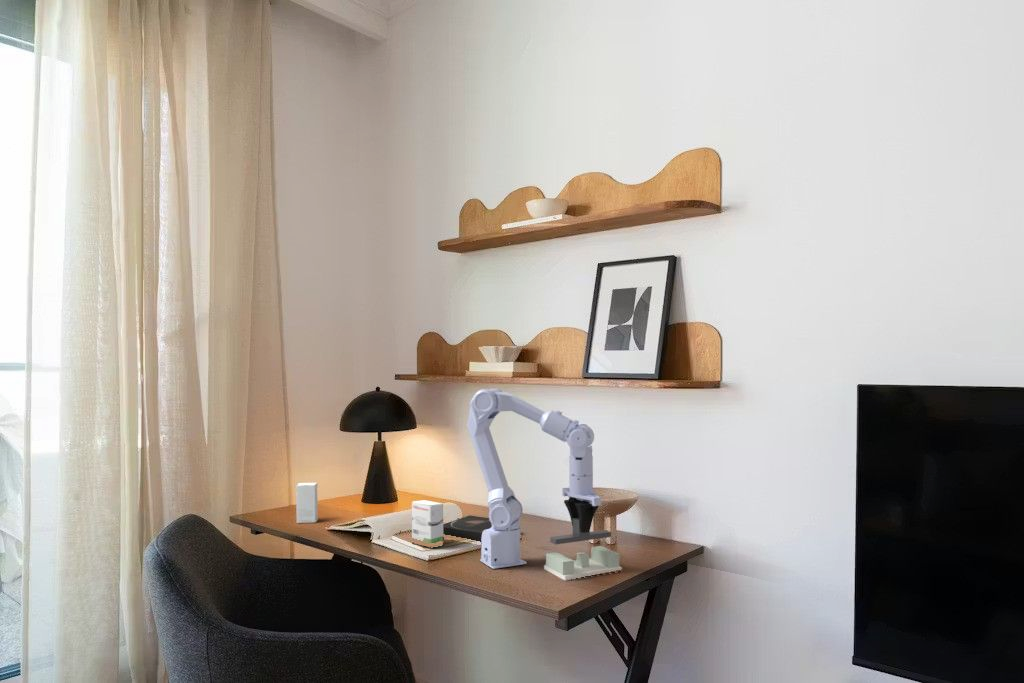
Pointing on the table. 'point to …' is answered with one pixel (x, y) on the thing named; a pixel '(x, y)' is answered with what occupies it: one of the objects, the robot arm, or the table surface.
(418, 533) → the ink box
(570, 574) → the stand
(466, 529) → the portable cd player
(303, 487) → the skincare box
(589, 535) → the grey inverted t block
